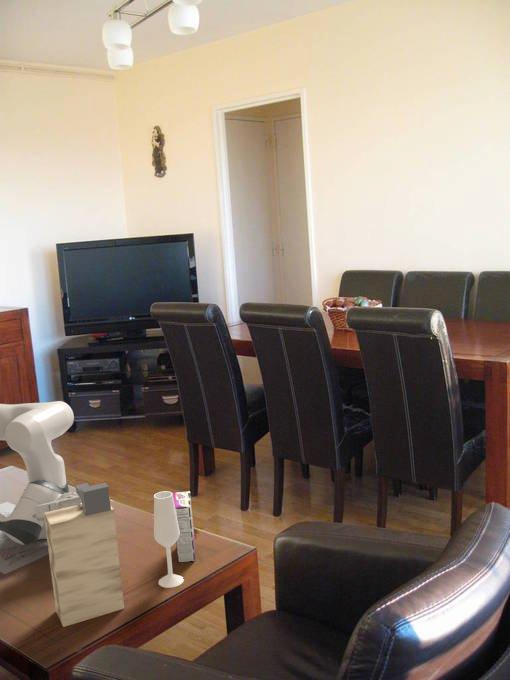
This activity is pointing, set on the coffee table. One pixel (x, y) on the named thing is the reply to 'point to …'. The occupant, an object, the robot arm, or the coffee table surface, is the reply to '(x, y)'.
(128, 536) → the coffee table surface
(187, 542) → the candy bar box
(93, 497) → the t handle
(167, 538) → the champagne flute
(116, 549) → the pedestal
